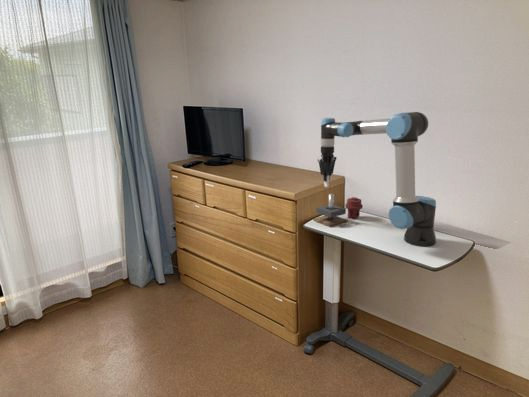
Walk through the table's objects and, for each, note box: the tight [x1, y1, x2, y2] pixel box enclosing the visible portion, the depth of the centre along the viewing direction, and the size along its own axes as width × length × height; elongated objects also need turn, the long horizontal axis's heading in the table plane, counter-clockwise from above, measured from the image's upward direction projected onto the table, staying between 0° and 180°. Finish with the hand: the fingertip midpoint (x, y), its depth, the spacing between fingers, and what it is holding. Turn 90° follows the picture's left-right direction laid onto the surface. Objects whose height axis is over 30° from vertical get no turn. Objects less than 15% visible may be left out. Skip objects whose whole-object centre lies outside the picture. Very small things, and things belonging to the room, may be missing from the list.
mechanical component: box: [344, 196, 363, 220], centre depth 241 cm, size 12×10×10 cm
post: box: [327, 193, 335, 220], centre depth 234 cm, size 3×3×15 cm
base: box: [313, 215, 349, 228], centre depth 236 cm, size 14×14×2 cm
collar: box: [315, 204, 347, 218], centre depth 234 cm, size 12×12×3 cm
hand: (326, 186), depth 234 cm, fingers closed
